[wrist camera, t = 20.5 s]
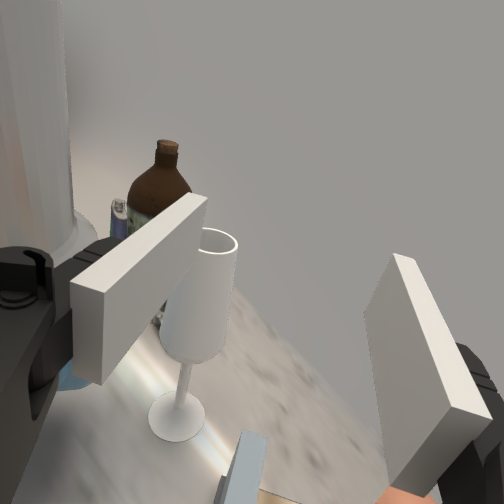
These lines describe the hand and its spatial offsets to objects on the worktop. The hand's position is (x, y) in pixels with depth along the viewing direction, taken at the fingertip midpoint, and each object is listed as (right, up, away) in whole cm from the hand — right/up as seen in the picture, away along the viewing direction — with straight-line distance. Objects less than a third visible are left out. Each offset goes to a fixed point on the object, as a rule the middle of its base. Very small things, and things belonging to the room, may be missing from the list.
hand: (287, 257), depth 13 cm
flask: (-29, +1, +57) cm, 64 cm away
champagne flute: (-10, -20, +28) cm, 36 cm away
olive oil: (-20, -5, +51) cm, 55 cm away
